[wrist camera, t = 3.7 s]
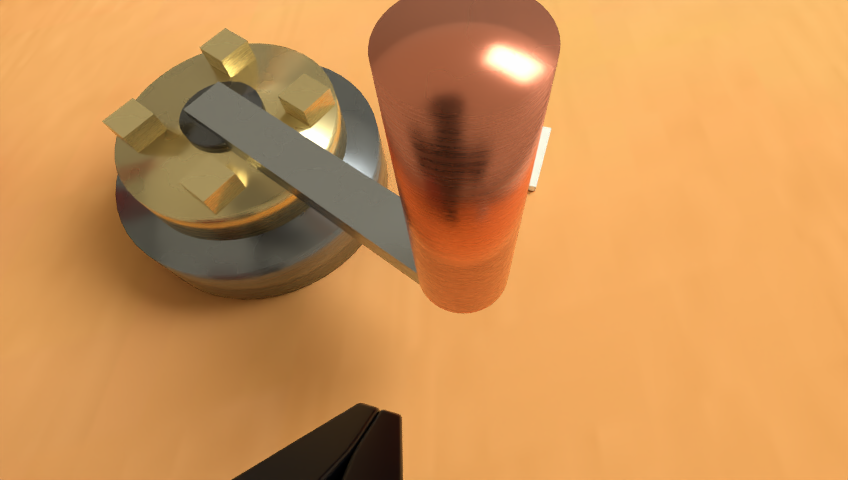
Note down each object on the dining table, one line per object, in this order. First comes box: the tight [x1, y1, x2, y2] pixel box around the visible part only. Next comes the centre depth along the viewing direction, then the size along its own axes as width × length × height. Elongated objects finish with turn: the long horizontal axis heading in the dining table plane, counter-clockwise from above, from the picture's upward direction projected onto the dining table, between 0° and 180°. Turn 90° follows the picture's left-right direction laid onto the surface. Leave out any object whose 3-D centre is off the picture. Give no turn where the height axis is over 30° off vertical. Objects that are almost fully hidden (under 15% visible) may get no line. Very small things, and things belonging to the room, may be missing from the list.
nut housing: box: [116, 66, 388, 299], centre depth 24 cm, size 13×13×3 cm
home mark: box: [528, 127, 551, 191], centre depth 25 cm, size 4×4×1 cm
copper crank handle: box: [102, 0, 560, 313], centre depth 15 cm, size 20×10×12 cm, turn 52°
